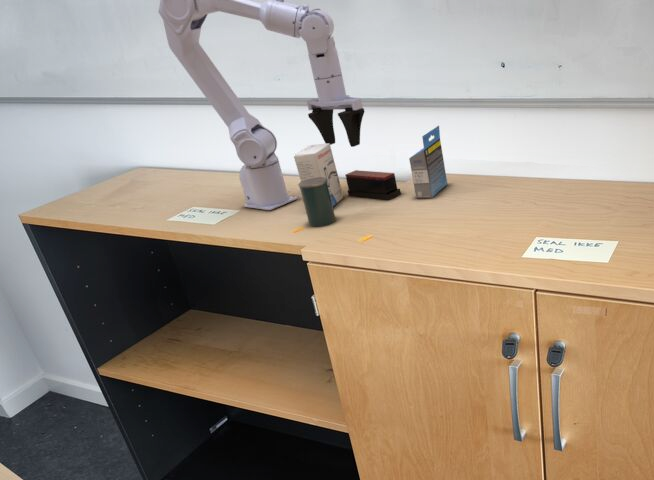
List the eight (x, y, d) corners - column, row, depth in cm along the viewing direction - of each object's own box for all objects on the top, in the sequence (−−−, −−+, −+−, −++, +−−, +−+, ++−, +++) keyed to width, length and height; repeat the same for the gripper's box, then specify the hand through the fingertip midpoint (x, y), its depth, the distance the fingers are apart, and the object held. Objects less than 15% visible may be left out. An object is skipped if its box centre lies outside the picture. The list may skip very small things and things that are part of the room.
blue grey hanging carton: (431, 185, 146) (422, 126, 140) (448, 184, 145) (439, 125, 139) (415, 198, 139) (404, 137, 133) (432, 198, 138) (422, 136, 132)
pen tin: (303, 225, 134) (292, 184, 130) (323, 216, 138) (313, 176, 133) (321, 228, 131) (311, 186, 127) (341, 218, 134) (332, 178, 130)
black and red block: (348, 196, 148) (343, 175, 146) (361, 190, 150) (356, 169, 148) (388, 200, 141) (384, 178, 139) (401, 194, 143) (397, 172, 141)
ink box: (330, 210, 140) (314, 152, 134) (308, 212, 141) (292, 155, 136) (344, 196, 147) (330, 141, 141) (323, 199, 148) (309, 144, 143)
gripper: (366, 71, 136) (380, 140, 143) (318, 73, 144) (333, 139, 151) (341, 78, 131) (356, 150, 138) (293, 80, 140) (309, 147, 146)
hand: (343, 144), depth 144 cm, fingers open, 7 cm apart
